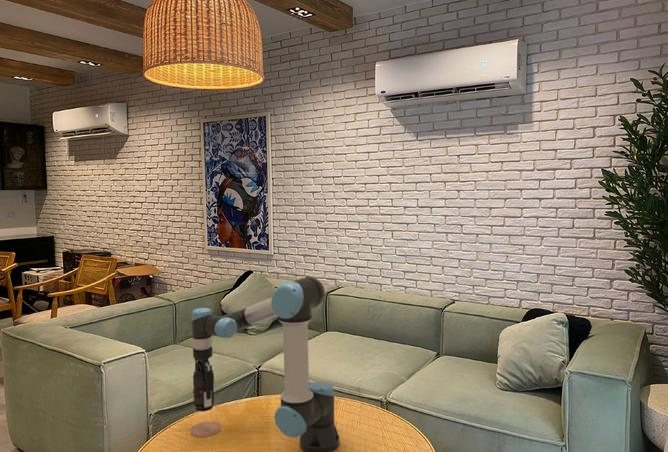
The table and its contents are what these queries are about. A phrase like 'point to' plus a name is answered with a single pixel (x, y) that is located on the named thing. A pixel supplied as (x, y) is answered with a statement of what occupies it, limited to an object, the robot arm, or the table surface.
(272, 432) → the table surface
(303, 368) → the robot arm
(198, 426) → the plate
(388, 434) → the table surface
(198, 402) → the camera lens
